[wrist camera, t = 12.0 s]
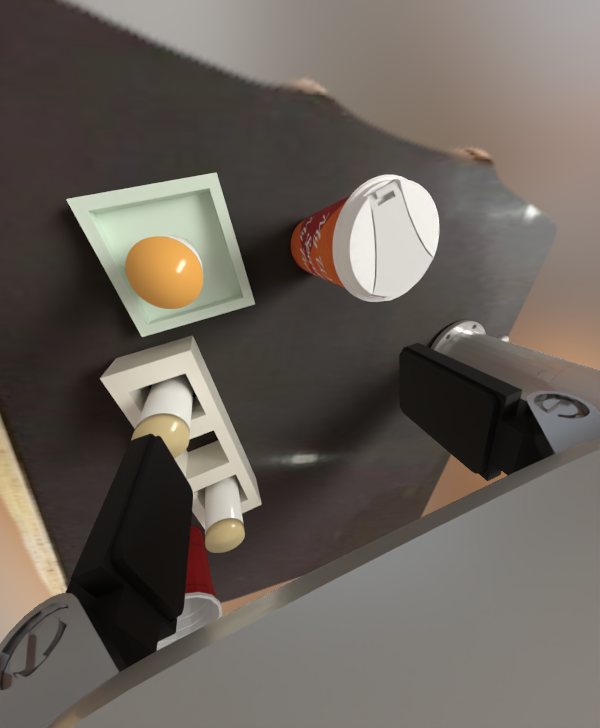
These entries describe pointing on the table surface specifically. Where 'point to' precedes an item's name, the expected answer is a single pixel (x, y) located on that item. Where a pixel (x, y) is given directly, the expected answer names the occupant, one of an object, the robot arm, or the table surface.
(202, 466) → the holder
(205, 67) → the table surface
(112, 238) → the tray
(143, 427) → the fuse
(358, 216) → the coffee cup
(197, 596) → the plastic cup
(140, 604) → the robot arm
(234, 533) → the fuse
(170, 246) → the white and orange cylinder
